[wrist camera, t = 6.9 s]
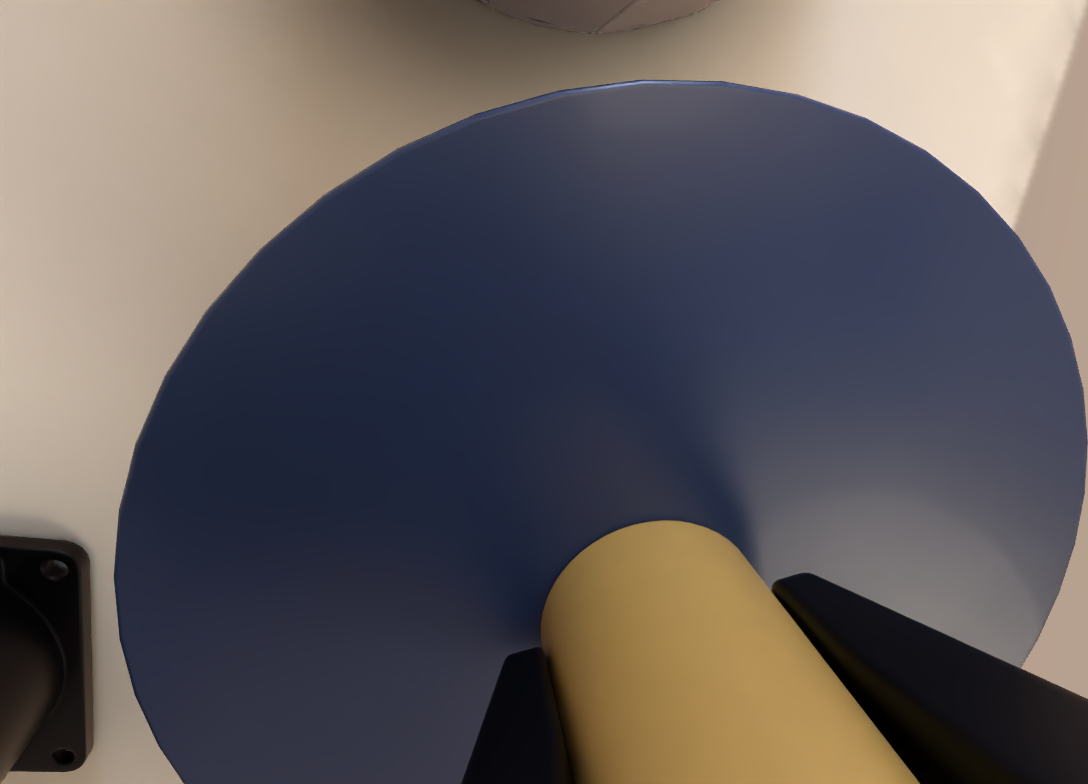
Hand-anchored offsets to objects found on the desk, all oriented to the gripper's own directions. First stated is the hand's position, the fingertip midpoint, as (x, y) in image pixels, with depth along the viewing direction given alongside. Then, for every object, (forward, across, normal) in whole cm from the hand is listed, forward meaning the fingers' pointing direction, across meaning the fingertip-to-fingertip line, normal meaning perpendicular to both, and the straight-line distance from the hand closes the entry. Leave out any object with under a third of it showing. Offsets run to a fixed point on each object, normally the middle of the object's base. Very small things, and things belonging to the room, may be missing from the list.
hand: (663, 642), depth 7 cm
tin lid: (+1, 0, 0) cm, 1 cm away
